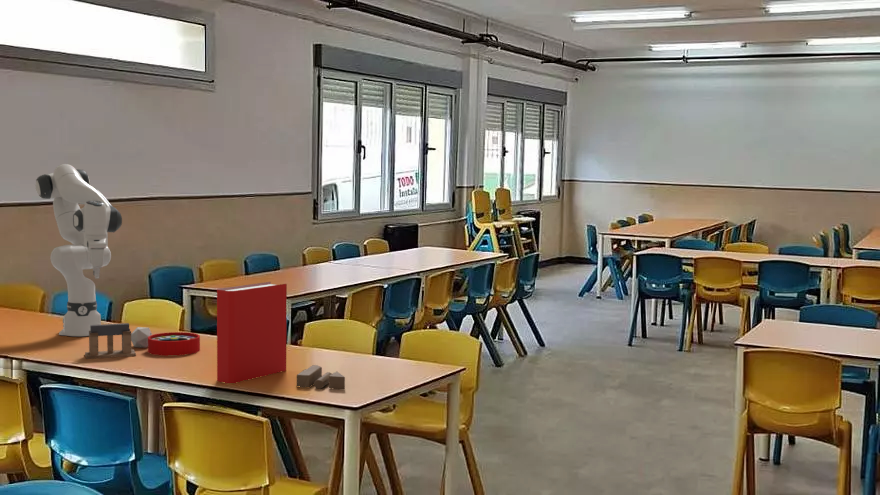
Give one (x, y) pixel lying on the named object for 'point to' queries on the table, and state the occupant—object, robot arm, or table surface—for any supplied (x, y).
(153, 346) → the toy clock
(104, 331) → the frame bar
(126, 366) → the table surface
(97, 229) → the robot arm
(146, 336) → the die
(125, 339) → the stand
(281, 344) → the book
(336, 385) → the wooden block set
